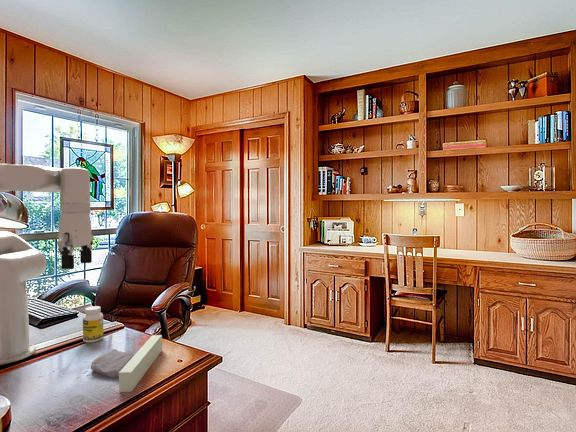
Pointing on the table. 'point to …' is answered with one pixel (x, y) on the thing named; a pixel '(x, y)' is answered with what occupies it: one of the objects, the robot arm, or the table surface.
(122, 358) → the grey rock
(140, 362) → the board
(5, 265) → the robot arm
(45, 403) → the table surface
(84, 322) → the pill bottle
